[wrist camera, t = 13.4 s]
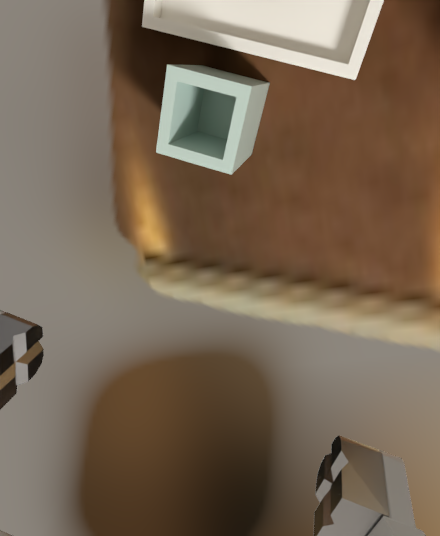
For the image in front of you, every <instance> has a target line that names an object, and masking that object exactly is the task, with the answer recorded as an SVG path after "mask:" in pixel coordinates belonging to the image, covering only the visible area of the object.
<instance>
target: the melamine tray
mask: <svg viewBox="0 0 440 536" xmlns="http://www.w3.org/2000/svg"><path fill="white" fill-rule="evenodd" d="M383 1H384V0H144V9H143V20H142V27H145V28H149V29H153V30H157V31H161V32H165V33H169V34H173V35H177V36H181V37H185V38H189V39H193V40H197V41H201V42H205V43H209V44H213V45H217V46H221V47H225V48H229V49H233V50H237V51H241V52H245V53H249V54H253V55H257V56H261V57H265V58H269V59H273V60H277V61H281V62H285V63H289V64H293V65H297V66H301V67H305V68H309V69H313V70H317V71H321V72H325V73H329V74H333V75H337V76H341V77H345V78H349V79H353V80H356V77H357V75H358V72H359V69H360V66H361V63H362V60H363V58H364V55H365V52H366V49H367V46H368V43H369V41H370V38H371V35H372V32H373V29H374V26H375V24H376V21H377V18H378V15H379V12H380V10H381V7H382V4H383Z"/></svg>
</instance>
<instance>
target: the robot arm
mask: <svg viewBox="0 0 440 536" xmlns="http://www.w3.org/2000/svg"><path fill="white" fill-rule="evenodd" d="M42 337H43V330H42V327H41V326H39V325H37V324H35V323H32V322H30V321H27V320H25V319H22V318H20V317H17V316H15V315H12V314H10V313H7V312H4V311H1V310H0V409H1V408H3V407H4V406H5V404H6V403H8V402H9V401H10V399H11V398H12V397H13V396H14V395H15V394H16V393H17V385H20V384H22V383H25V382H28V381H29V380H30V379H31V378H32V377H33V376H34V375H35V374H36V372H37V371H38V369H39V367H40V365H41V363H42V360H43V356H44V354H43V348H42V346H41V344H40V343H39V340H40V339H41V338H42ZM315 494H316V496H317V498H318V500H319V502H320V504H319V506H318V507H317V509H316V511H315V512H314V535H313V536H426V535H425V534H424V532H423V531H421V530H419V529H417V528H416V527H415V521H414V516H413V510H412V504H411V500H410V493H409V488H408V482H407V477H406V471H405V465H404V462H403V460H402V458H400V457H397V456H394V455H392V454H389V453H386V452H383V451H381V450H378V449H376V448H373V447H370V446H367V445H364V444H362V443H359V442H356V441H353V440H350V439H348V438H345V437H342V436H337V437H336V438H335V439H334V441H333V443H332V445H331V453H330V454H328V455H325V457H324V459H323V460H322V462H321V465H320V468H319V471H318V474H317V481H316V492H315ZM0 536H12V535H10V534H8V533H6V532H3V531H1V530H0Z"/></svg>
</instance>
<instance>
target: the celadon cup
mask: <svg viewBox="0 0 440 536" xmlns="http://www.w3.org/2000/svg"><path fill="white" fill-rule="evenodd" d="M269 84H270V83H269V82H265V81H261V80H257V79H253V78H249V77H245V76H241V75H238V74H234V73H230V72H226V71H222V70H218V69H214V68H211V67H207V66H203V65H172V64H167V70H166V78H165V86H164V93H163V101H162V109H161V117H160V125H159V133H158V141H157V149H156V153H159V154H163V155H166V156H170V157H173V158H176V159H180V160H183V161H187V162H190V163H193V164H197V165H200V166H204V167H207V168H210V169H214V170H217V171H221V172H224V173H227V174H231V175H232V174H233V173H234V172H235V171H236V170H237V169H238V168H239V167H240V166H241V165H242V164H243V163H244V162H245V161H246V160H247V159H248V158H249V157H250V156H251V155H252V151H253V147H254V143H255V139H256V135H257V131H258V127H259V123H260V119H261V115H262V111H263V107H264V103H265V100H266V96H267V92H268V88H269Z"/></svg>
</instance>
